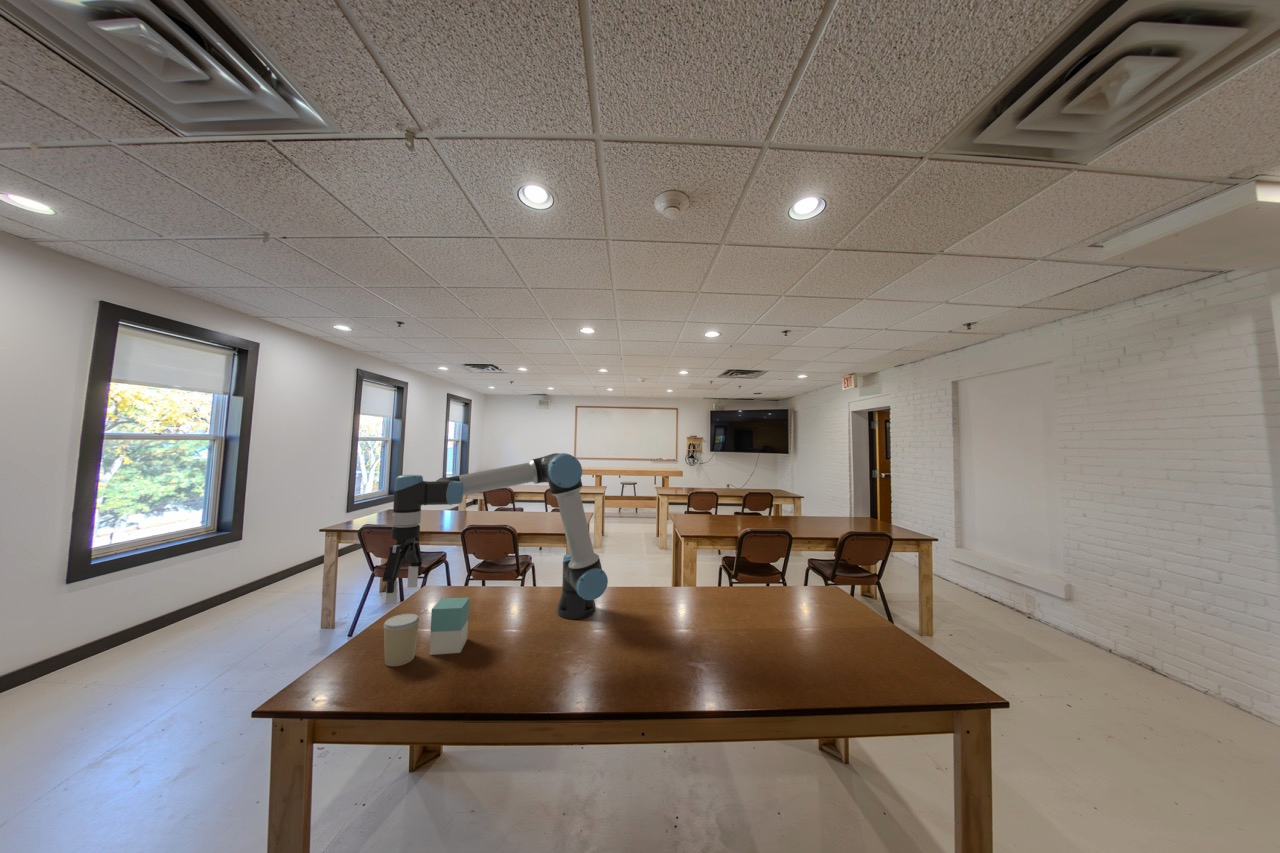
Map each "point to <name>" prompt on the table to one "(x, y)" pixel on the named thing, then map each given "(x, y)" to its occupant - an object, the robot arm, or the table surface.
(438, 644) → the cream block
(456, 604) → the teal block
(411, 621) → the coffee cup
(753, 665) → the table surface
